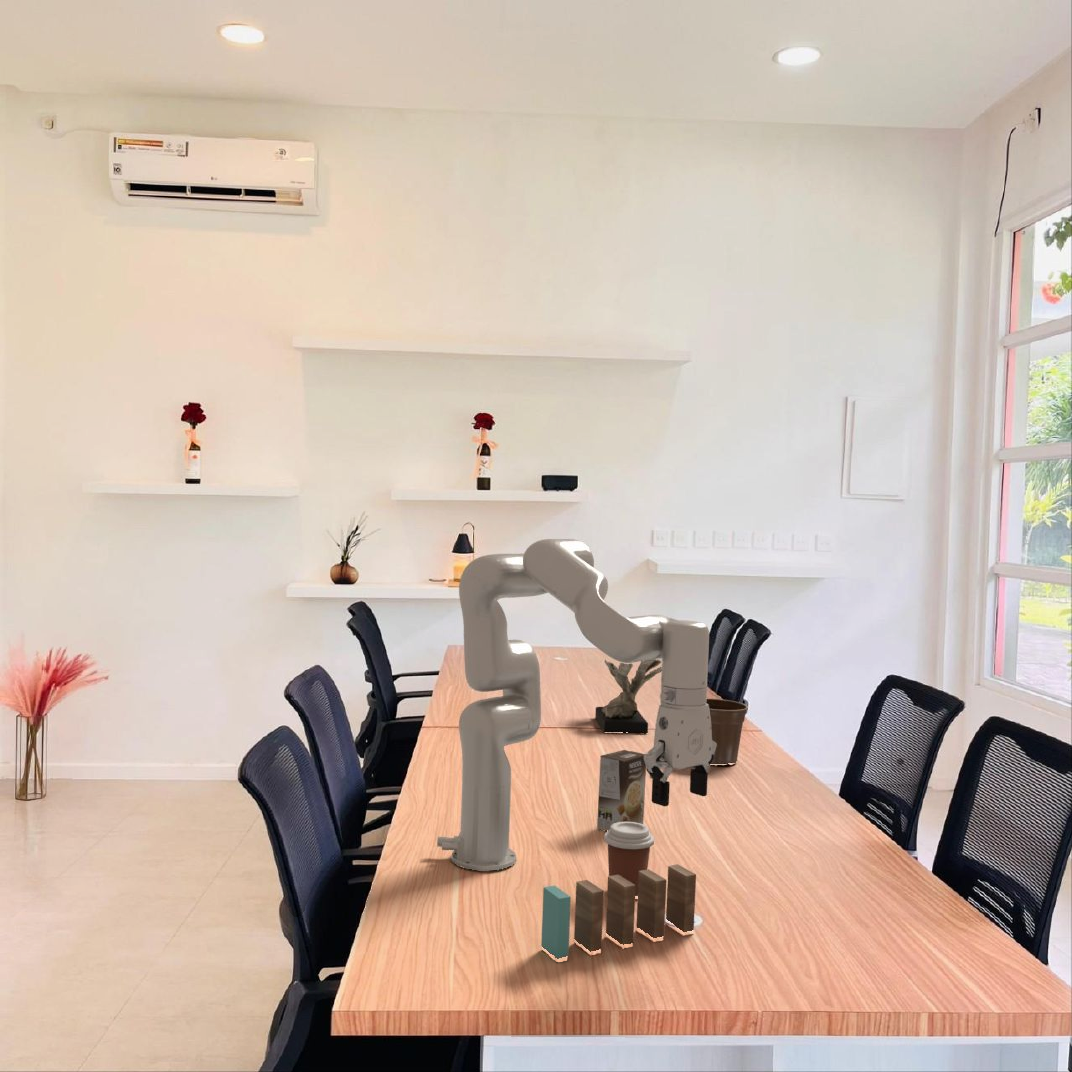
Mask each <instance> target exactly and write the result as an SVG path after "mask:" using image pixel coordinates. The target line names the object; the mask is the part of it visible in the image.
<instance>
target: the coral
mask: <svg viewBox="0 0 1072 1072" xmlns="http://www.w3.org/2000/svg"><path fill="white" fill-rule="evenodd" d="M604 663H605V665H606V666H607V667H608V671H609V673H610V675H611V676H612V677H613V678H614V680H615V682H616V683H617V685H618V686H619V687H620V688H621V690H622V692H620V693H619V694H618V696H616V697H614V698H613V699H611V700H610V701H609V702H608V703H607V704H606V705H605V706H596V707H595V713H594V714H595V720H596V721H597V724H598V725H599V727H600V728H602V729H601V730H602V732H603V733H604V732H623V733H626V732H628V733H648V732H649V723H648V721H647V720H646V719H645V717H643V715H642V714H641V712H640V711H639V710H638V704H637V702H636V696H637V694H638V692H639V691H640V689H641V688H642V687H643V686H644V684H645V683H646V682H647V681H650V680H651V679H652V678H653V677H655V676H656V675H657V674H660V673H662V666H659V665H660V664H662V660H661V659H655V660H645V661H640V662H639V663H640V664H639V665H638V668H637V670H635V676H634V677H633V678H631V679H630V680H629V676H628V675H629V674H630V673H631V670H632V668H633V667H634V664H633V663H623V662H619V665H618V666H616V665H615V664H614V663H613V662H610V661H607V660H606V659H605V660H604ZM658 666H659V667H658ZM656 667H657V669H654V668H656ZM652 669H653V670H652ZM651 670H652V671H651ZM648 672H649V673H648ZM630 681H631V682H630ZM648 734H649V733H648Z"/></svg>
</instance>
